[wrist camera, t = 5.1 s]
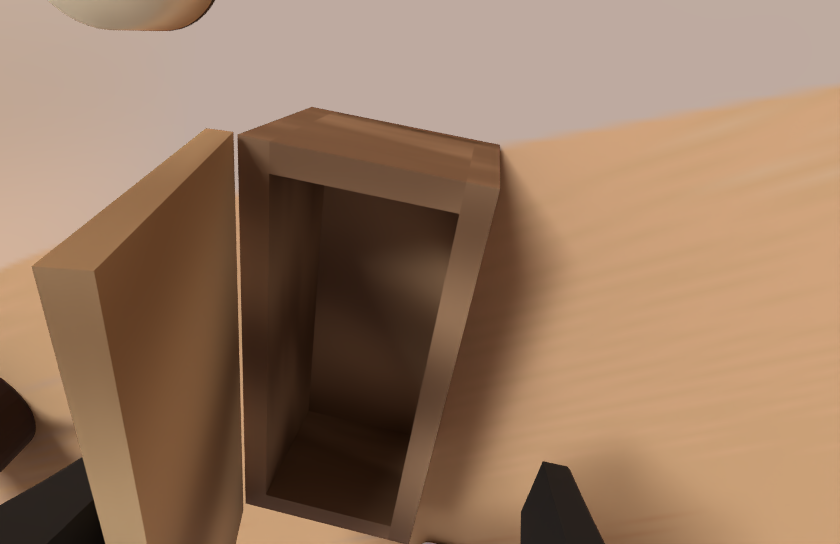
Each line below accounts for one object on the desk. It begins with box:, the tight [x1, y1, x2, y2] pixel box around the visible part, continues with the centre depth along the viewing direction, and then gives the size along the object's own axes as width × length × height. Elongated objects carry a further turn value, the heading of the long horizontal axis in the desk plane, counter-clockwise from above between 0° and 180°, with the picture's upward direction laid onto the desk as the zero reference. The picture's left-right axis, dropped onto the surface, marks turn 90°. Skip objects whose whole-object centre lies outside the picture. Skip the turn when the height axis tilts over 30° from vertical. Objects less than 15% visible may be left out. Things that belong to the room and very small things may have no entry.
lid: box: [32, 128, 243, 544], centre depth 11 cm, size 14×7×1 cm
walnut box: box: [238, 107, 500, 544], centre depth 16 cm, size 14×6×5 cm, turn 170°
